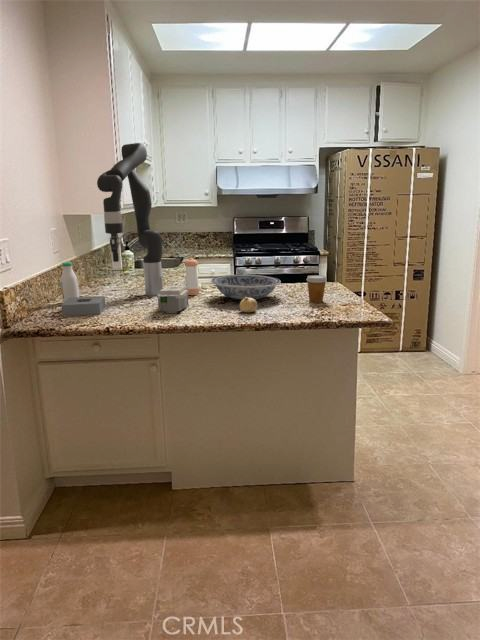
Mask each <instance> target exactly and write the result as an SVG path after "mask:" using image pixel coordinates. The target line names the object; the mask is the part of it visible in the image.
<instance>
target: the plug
mask: <svg viewBox="0 0 480 640" xmlns="http://www.w3.org/2000/svg"><path fill="white" fill-rule="evenodd" d="M118 243H119V248H118V259H119V261H118V262H114V261H113V253H112V251H111V244H110V243H109V248H110V257H111V269H113V270H115V269H117V270H118V269H122V268H123V260H122V249H121V247H122V246H121V240H120V241H119V242H118ZM113 249H116V248H113Z"/></svg>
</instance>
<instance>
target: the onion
mask: <svg viewBox="0 0 480 640" xmlns="http://www.w3.org/2000/svg"><path fill="white" fill-rule="evenodd" d="M258 305H259V304H258V302H257V299H253V298H248V297H245V298H244V299H243V300H241V301H240V303H239V309H240V311H241V312H242V313H255V312H256V311H257V309H258Z"/></svg>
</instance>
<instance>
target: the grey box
mask: <svg viewBox="0 0 480 640" xmlns="http://www.w3.org/2000/svg"><path fill="white" fill-rule="evenodd" d="M186 289H187V288H186V285H167V286H165V287H163V289H162V290H160V294H159V295H156V297H157V305H158V309H159V311H160V312H162V313H163V312H164V313H165V314H177V313H179V312H180V311H182V310H183V309H184V310H185V309H186V308H187V306H188V305H189V296H188V290H186Z"/></svg>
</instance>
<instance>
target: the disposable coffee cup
mask: <svg viewBox="0 0 480 640" xmlns="http://www.w3.org/2000/svg"><path fill="white" fill-rule="evenodd" d="M305 280H306V282H307V290H308V300H309V302H310V303H314V304H315V303H316V304H318V303H322V302H323V301H324V296H325V289H326V282H327V277H326V275H321V274H320V275H319V274H314V275H313V274H312V275H307V278H306V279H305Z"/></svg>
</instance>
